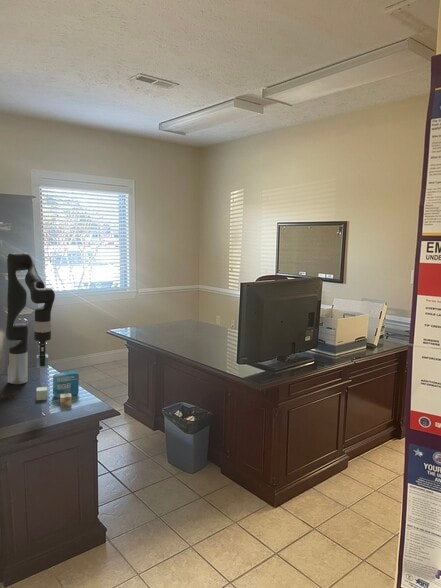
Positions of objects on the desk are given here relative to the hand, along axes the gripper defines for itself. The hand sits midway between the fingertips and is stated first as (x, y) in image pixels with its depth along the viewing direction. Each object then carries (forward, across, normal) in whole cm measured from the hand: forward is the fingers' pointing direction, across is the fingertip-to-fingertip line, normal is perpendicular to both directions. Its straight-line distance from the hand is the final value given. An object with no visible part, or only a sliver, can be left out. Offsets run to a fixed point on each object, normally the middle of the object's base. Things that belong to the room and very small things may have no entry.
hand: (42, 364), depth 206 cm
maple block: (+21, +1, +11) cm, 24 cm away
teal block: (+1, 0, 0) cm, 1 cm away
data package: (+22, -12, +11) cm, 27 cm away
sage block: (+21, -11, 0) cm, 24 cm away
